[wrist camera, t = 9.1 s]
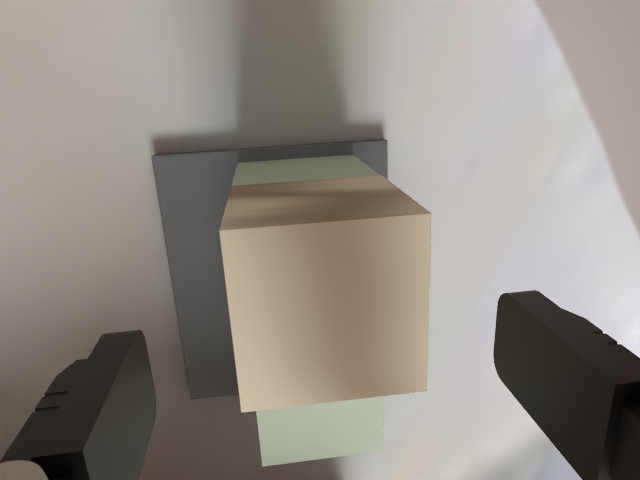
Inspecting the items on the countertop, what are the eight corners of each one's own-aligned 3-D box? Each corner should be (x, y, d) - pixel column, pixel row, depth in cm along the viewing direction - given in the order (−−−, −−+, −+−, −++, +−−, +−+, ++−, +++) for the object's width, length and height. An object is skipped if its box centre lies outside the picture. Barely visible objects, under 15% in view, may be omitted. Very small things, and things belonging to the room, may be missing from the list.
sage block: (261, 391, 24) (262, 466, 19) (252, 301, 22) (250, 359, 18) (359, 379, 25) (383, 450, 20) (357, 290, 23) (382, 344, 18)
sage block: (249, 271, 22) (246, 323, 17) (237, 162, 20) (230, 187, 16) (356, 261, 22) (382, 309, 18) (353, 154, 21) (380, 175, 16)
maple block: (246, 322, 17) (241, 412, 13) (231, 185, 16) (219, 230, 11) (382, 308, 18) (427, 390, 13) (381, 175, 16) (431, 213, 11)
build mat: (192, 391, 24) (190, 399, 24) (154, 154, 20) (151, 156, 20) (385, 370, 25) (388, 376, 25) (383, 139, 21) (387, 140, 21)
